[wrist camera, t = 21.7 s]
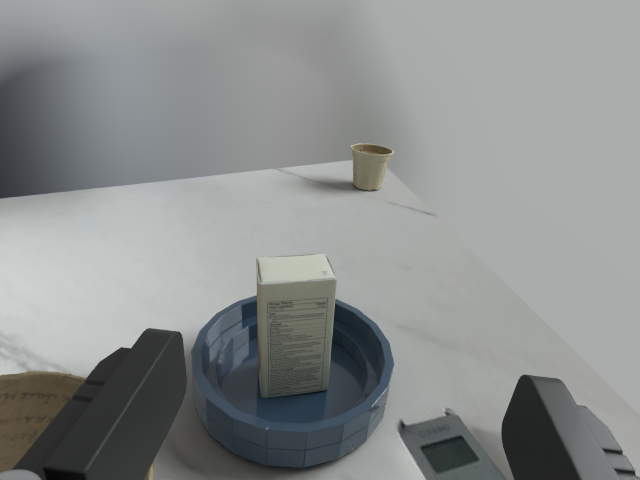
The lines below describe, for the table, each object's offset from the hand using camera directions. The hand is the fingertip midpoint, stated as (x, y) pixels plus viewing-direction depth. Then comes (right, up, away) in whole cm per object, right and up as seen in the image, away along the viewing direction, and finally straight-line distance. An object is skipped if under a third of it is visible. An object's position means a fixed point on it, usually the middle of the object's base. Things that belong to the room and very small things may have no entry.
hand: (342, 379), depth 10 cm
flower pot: (+10, +15, +83) cm, 85 cm away
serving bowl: (-3, -10, +29) cm, 31 cm away
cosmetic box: (-3, -10, +29) cm, 31 cm away
